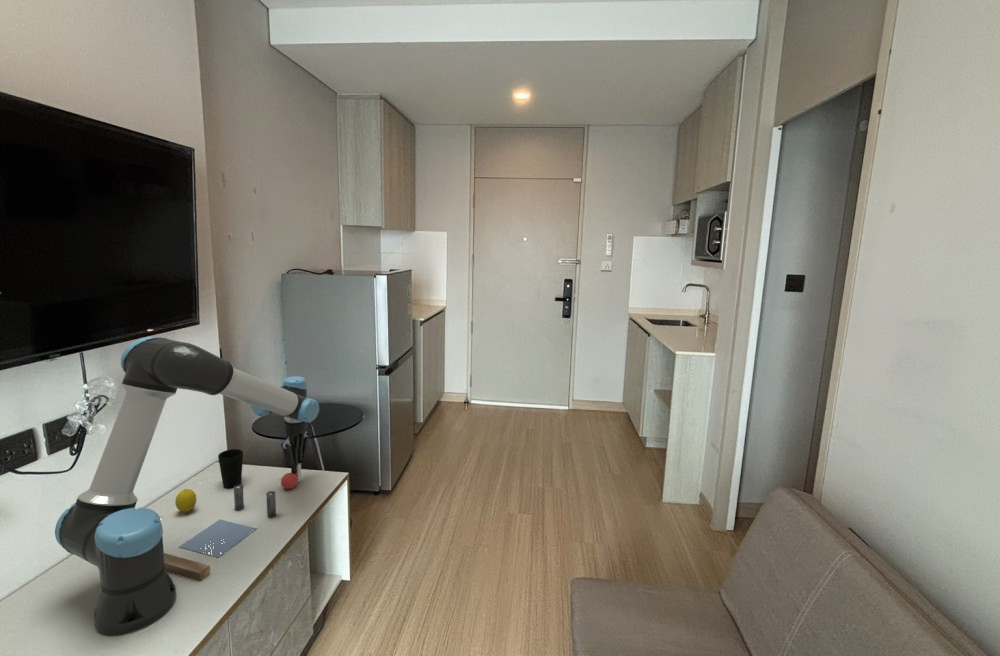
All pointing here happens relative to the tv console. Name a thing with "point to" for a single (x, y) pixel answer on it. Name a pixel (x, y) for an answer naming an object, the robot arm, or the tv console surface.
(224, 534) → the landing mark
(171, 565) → the wall
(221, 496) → the tv console surface
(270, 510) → the post right
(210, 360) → the robot arm
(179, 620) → the tv console surface
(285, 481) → the ball
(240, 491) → the post left
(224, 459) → the cup
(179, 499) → the lemon
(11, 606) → the tv console surface
